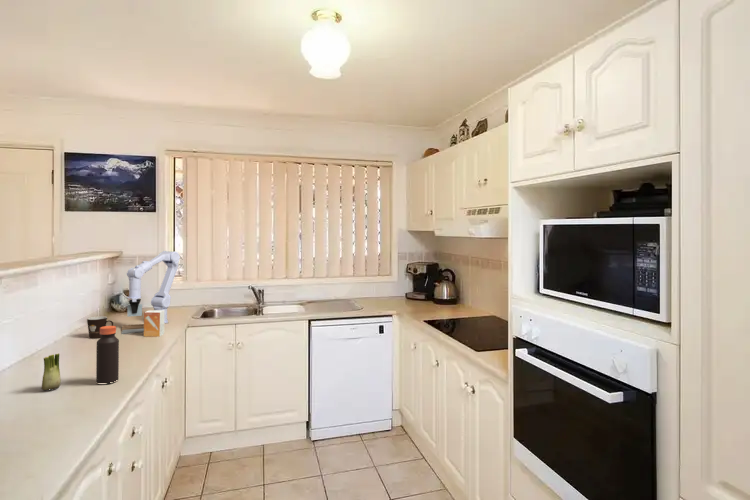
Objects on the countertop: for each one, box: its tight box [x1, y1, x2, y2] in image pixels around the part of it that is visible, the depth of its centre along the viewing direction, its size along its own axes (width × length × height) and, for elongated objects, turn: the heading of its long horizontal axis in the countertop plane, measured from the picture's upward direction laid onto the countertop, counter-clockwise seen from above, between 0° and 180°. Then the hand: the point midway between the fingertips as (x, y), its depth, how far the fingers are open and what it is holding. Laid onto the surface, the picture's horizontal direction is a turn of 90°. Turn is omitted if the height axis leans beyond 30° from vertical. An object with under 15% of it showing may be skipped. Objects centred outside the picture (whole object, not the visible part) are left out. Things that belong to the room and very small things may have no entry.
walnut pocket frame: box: [121, 323, 144, 331], centre depth 231 cm, size 9×12×1 cm
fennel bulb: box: [41, 352, 62, 391], centre depth 139 cm, size 6×5×12 cm
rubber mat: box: [121, 328, 144, 335], centre depth 223 cm, size 8×11×1 cm
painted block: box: [126, 303, 143, 318], centre depth 231 cm, size 4×7×6 cm, turn 118°
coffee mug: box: [86, 315, 114, 340], centre depth 208 cm, size 12×9×10 cm
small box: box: [143, 309, 165, 338], centre depth 215 cm, size 8×6×13 cm
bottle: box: [95, 325, 120, 384], centre depth 147 cm, size 7×7×20 cm
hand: (134, 312), depth 231 cm, fingers closed on painted block, 4 cm apart
